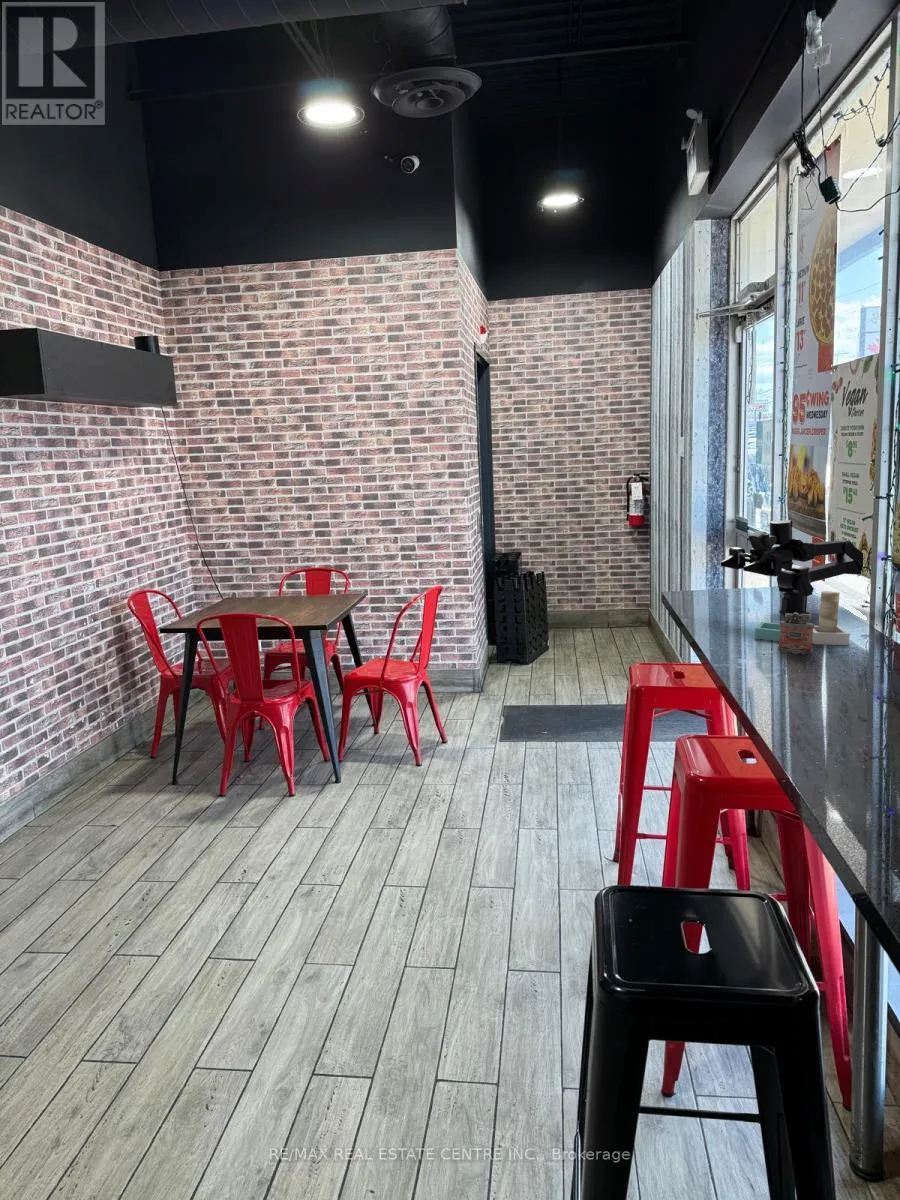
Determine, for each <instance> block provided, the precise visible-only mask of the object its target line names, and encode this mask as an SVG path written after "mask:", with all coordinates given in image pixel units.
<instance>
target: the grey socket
mask: <svg viewBox="0 0 900 1200" xmlns="http://www.w3.org/2000/svg"><path fill="white" fill-rule="evenodd" d="M818 628H819V625H814V628H813V635H812V645H828V646H829V645H833V646H834V645H835V646H839V645H840V646H849V645H850V636H851V633H850V632H848V631H847V630H845V629H844V628H843V627H841V626H840V625H837V631H836V633H831V632H818Z"/></svg>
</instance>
